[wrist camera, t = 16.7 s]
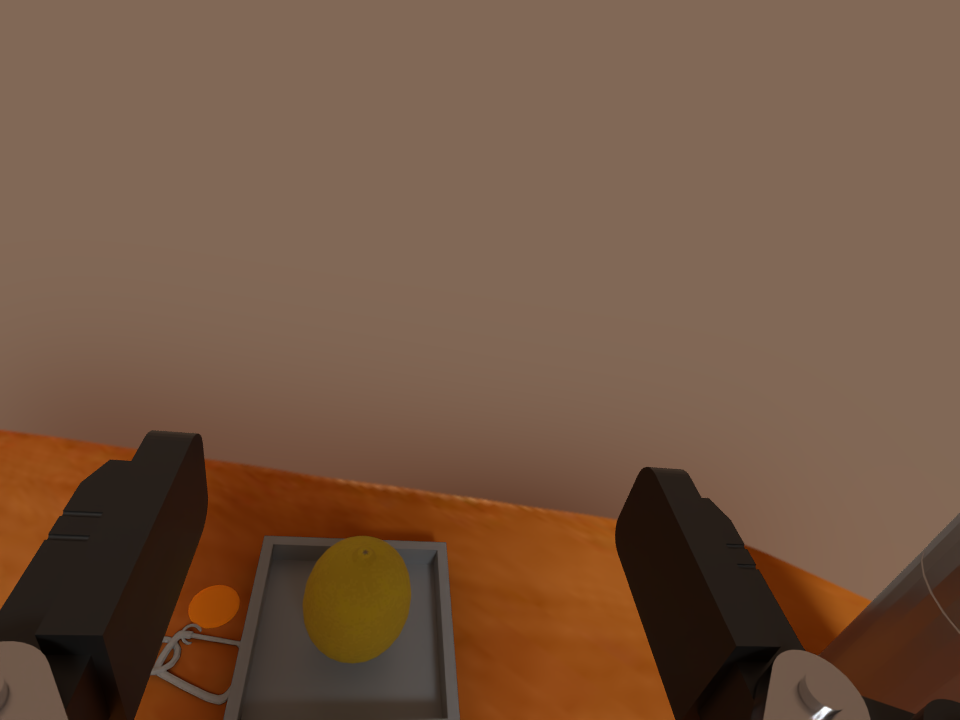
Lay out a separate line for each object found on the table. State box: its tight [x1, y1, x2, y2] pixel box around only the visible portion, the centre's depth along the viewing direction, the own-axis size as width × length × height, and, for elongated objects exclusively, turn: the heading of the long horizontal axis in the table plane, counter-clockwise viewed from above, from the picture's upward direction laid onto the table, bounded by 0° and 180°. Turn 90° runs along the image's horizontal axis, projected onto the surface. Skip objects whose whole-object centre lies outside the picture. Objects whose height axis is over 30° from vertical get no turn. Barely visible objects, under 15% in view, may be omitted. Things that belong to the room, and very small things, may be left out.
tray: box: [223, 536, 460, 720], centre depth 33 cm, size 11×11×2 cm
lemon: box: [303, 536, 411, 664], centre depth 31 cm, size 6×6×8 cm
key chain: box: [150, 585, 241, 705], centre depth 32 cm, size 13×7×1 cm, turn 80°
